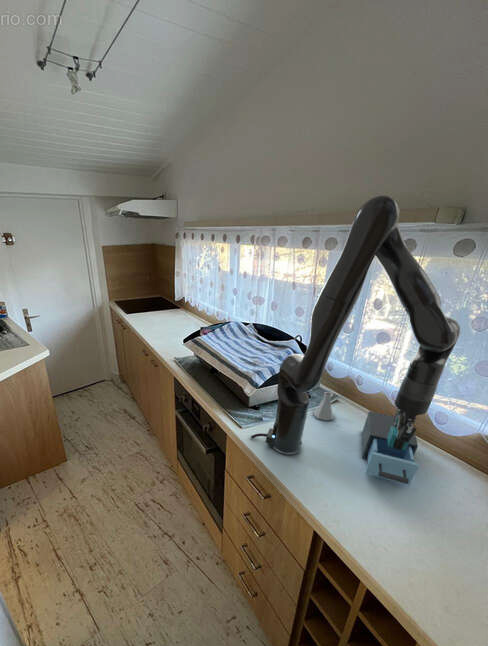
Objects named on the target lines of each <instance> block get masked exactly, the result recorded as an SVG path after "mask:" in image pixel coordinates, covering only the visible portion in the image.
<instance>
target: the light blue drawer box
mask: <svg viewBox="0 0 488 646" xmlns="http://www.w3.org/2000/svg"><path fill="white" fill-rule="evenodd" d="M367 452H368V459H367V465H366V467H365V472H364V473H365V474H366V475H369V476H374V477H377V478H380V479H384V480H388V481H391V482H394V483H398V484H402V485H404V486H405V485H406V486H408V487H409V486H410V485H411V483H412V481H413V480H414V477H415V475H416V473H417V471H418V469H419V466H420V465H419V462H415V457H414V456H415V455H414V456H413V452H412V447H411V446H407V449H406V450H398V449H394V448H393V447H389V446H388V442H387V441H386V440H382V439H378V438H374V437H372V439H371V442H370V445H369V448H368V451H367Z"/></svg>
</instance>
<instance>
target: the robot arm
mask: <svg viewBox="0 0 488 646" xmlns="http://www.w3.org/2000/svg"><path fill="white" fill-rule="evenodd" d="M399 219H400V207H399V205H398V202H397V201H396V200H395V199H394V198H393V197H391V196H390V195H386V194H380V195H376V196H373V197H372V198H369V199H368V200H366V201H365V202H364V203H363V204H361V206H360V207H359V208H358V210H357V211H356V214H355V215H354V218H353V222H352V225H351V227H350V231H349V234H348V236H347V239H346V240H345V241H346V242H345V244H344V247H343V249H342V251H341V253H340V256H339V258H338V260H337V262H336V263H335V265H334V267H333V269H332V271H331V272H330V274H329V276H328V277H327V280H326V282H325V284H324V285H323V287H322V289H321V291H320V293H319V296H318V297H317V300H316V302H315V304H314V305H313V306H314V307H313V308H312V312H311V319H310V334H309V342H308V346H307V349H306V350H305V352H304V355H303V354H300V353H293V354H289V355H288V356H286V357H285V358H284V359H283V361H282V362H281V364H280V367H279V371H278V379H277V389H276V394H277V398H278V401H277V407H276V413H275V420H274V421H275V422H274V423H273V427H272V428H269V429H268V432H267V433H255V434H252V435H251V437H250V438H252V439H255V438H257V437H265V443H266V444H269V445H270V448H271V449H274V450H275V451H276V452H277V453H279V454H281V455H286V456H287V455H288V456H293V455H296V454H298V453H299V452H300V451H301V446H302V444H303V441H302V439H303V435H304V431H305V425H306V419H307V415H308V412H309V411H308V410H309V405H310V398H309V394H308V392H311V391H312V390H313V389H314V388H316V386H318V383H319V382H320V380H321V378H322V375H323V373H324V371H325V368H326V366H327V363H328V361H329V358H330V356H331V353H332V351H333V348H334V346H335V345H336V342H337V340H338V339H339V336H340V334H341V332H342V330H343V328H344V326H345V324H346V323H347V321H348V319H349V317H350V315H351V314H352V312H353V309H354V307H355V306H356V304H357V302H358V299H359V297H360V295H361V292H362V289H363V287H364V284H365V281H366V278H367V275H368V273H369V270H370V267H371V265H372V262H373V261H374V259H375V258H376V259H377V261H378V262H379V263H380V265H381V267H382V269H383V270H384V273H385V274H386V276H387V279H388V281H389V283H390V285H391V287H392V290H393V291H394V293H395V295H396V297H397V299H398V301H399V302H400V304H401V307H402V308H403V309H404V312H405V313H406V314H407V316H408V320H409V325H410V326H411V330H412V333H413V335H414V337H415V340H416V341H417V344H419V346H418V348H417V351H416V352H415V355H414V356H413V357H412V359H411V361H410V363H409V365H408V367H407V370H406V374H405V376H404V378H402V379H403V380H402V381H401V384H400V387H399V389H398V392H397V394H396V396H395V397H396V398H395V400H394V406H395V407H396V408H397V410H396V412H395V413H396V414H395V419H394V422H395V424H394V427H397V430H398V432H397V435H396V439H395V441H394V444H393V448H394V449H398V450H402V448H403V446H404V443H405V442H409V441H410V439H411V438H412V436H413V434H414V433H415V434H416V432H417V427H415V425H416V423H417V420H418V416H422V415H423V416H424V415H425V414H427V413H428V411H429V408H430V406H431V403H432V402H433V399H434V397H435V394H436V392H437V389H438V385H439V382H440V380H441V377H442V375H443V372H444V370H445V366H446V364H447V361H448V359H449V357H450V355H451V353H452V351H453V350H454V348H455V346H456V344H457V342H458V340H459V337H460V335H461V326H460V324H459V323H458V321H457V320H455V319H454V318H451V317H447V316H446V315H445V314H444V311H443V309H442V307H441V304H442V300H441V297H440V295H439V292H438V291H437V289H436V287H435V286H434V284H433V282H432V281H431V278H430V277H429V275H428V274H427V273H426V271H425V270H424V269H423V267H422V266H421V265H420V263H419V262H418V261H417V259H416V258H415V257H414V256H413V254H412V252H411V251H410V249H409V247H408V246H407V243H406V242H405V239H404V237H403V235H402V232H401V229H400V226H399Z"/></svg>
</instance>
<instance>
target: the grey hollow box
mask: <svg viewBox="0 0 488 646" xmlns="http://www.w3.org/2000/svg"><path fill="white" fill-rule="evenodd" d="M395 416H396V415H395ZM395 416H394V415H390V414H386V413H380V412H376V411H371V410H369V411H368V413H367V416H366V419H365V421H364V425H363V428H362V431H361V458H362V459H365V460H368V452H367V451H368V448H369V445H370V442H371V439H372V437H374V438H378V439H382V440H386V441H387V436H388V434H389V431H390V428H391V426H393V427H394V424H395V422H394V419H395ZM408 446H411V447H412V452H413V456H415V454H416V451H417V449H418V447H419V444H418V439H417V436H416V432H415V433H414V434H413V436H412V438H411V439H410V442H409V444H408Z"/></svg>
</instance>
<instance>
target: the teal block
mask: <svg viewBox="0 0 488 646" xmlns="http://www.w3.org/2000/svg"><path fill="white" fill-rule="evenodd" d="M397 432H398V430H397V427H393V426H391V428H390V431H389V434H388V436H387V442H388V446H389V447H393V444H394V441H395V439H396V435H397ZM409 442H410V441H409ZM409 442H405V443H404V446H403V448H402V450H406V449H407V446H408V444H409Z"/></svg>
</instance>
